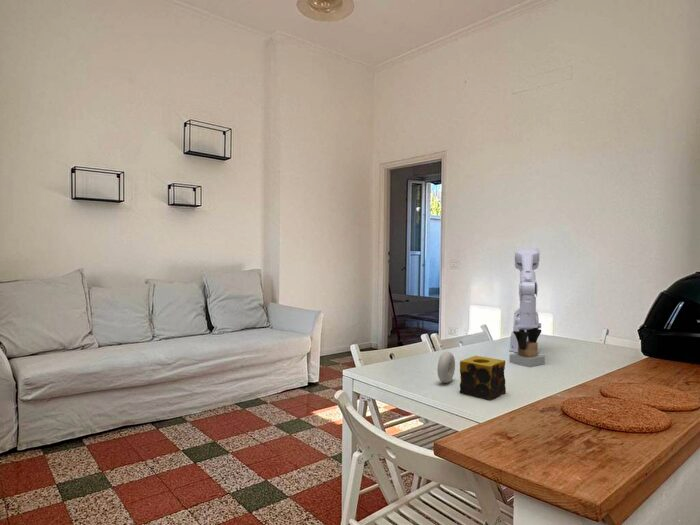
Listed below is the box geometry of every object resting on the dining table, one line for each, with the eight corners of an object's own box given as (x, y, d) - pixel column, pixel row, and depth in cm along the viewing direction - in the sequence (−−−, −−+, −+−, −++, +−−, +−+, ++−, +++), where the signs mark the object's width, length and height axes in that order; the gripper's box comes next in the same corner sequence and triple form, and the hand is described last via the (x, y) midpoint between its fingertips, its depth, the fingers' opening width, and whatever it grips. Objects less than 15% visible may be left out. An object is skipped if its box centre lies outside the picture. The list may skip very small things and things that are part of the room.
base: (509, 362, 176) (509, 354, 175) (524, 359, 181) (524, 351, 180) (530, 367, 168) (530, 359, 168) (544, 364, 173) (544, 356, 173)
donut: (445, 387, 143) (446, 355, 142) (435, 385, 144) (435, 354, 144) (456, 379, 151) (456, 349, 151) (446, 378, 153) (446, 348, 153)
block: (517, 354, 175) (518, 341, 175) (526, 353, 177) (526, 340, 177) (529, 357, 171) (529, 344, 170) (537, 355, 173) (537, 342, 173)
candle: (506, 393, 137) (506, 360, 137) (491, 401, 130) (491, 366, 129) (475, 386, 144) (475, 354, 144) (458, 393, 136) (459, 360, 136)
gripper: (524, 315, 167) (524, 352, 167) (548, 312, 175) (548, 348, 175) (508, 313, 172) (508, 349, 173) (532, 310, 180) (531, 345, 181)
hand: (527, 348), depth 174 cm, fingers open, 5 cm apart
